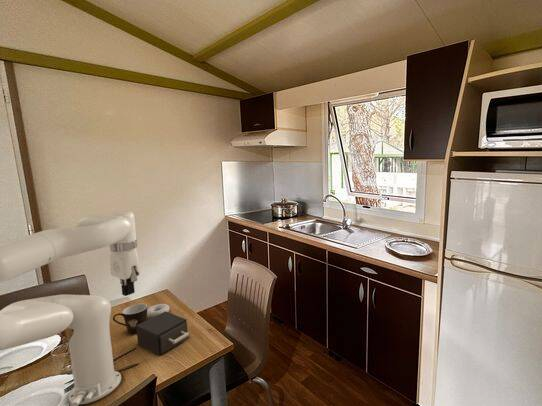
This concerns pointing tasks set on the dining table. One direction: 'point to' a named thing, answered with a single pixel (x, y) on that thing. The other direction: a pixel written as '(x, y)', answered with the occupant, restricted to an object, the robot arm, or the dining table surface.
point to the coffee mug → (133, 317)
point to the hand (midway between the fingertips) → (128, 293)
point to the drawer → (173, 337)
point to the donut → (157, 310)
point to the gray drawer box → (156, 330)
